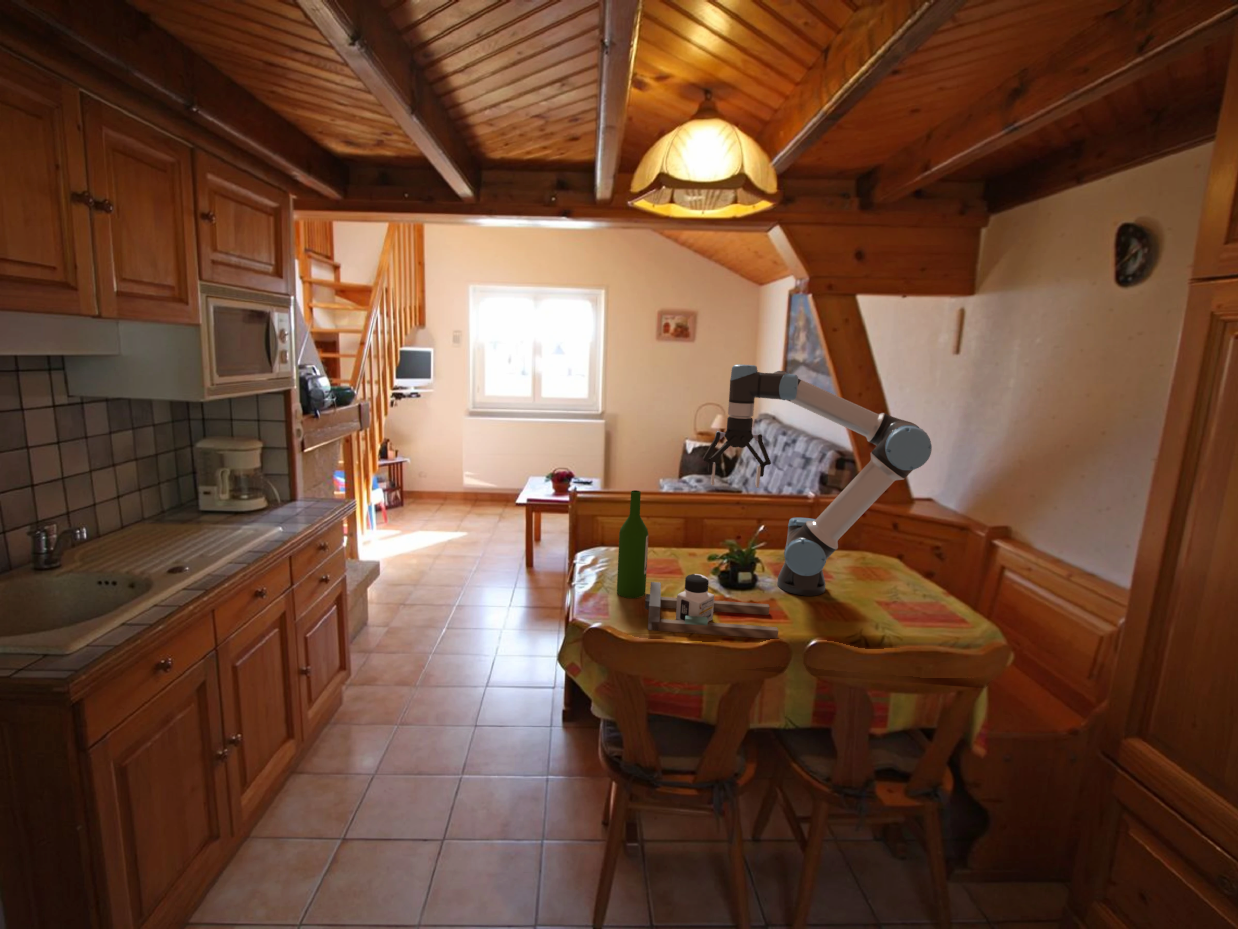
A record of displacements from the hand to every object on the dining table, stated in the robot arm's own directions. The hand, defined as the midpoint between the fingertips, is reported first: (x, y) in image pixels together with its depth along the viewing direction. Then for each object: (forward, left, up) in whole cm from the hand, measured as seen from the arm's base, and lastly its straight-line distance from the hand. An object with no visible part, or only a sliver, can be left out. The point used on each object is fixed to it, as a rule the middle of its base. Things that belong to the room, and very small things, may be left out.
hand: (734, 485), depth 193 cm
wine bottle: (+30, +6, -35) cm, 46 cm away
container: (+11, +22, -35) cm, 43 cm away
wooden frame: (+7, +22, -35) cm, 42 cm away
